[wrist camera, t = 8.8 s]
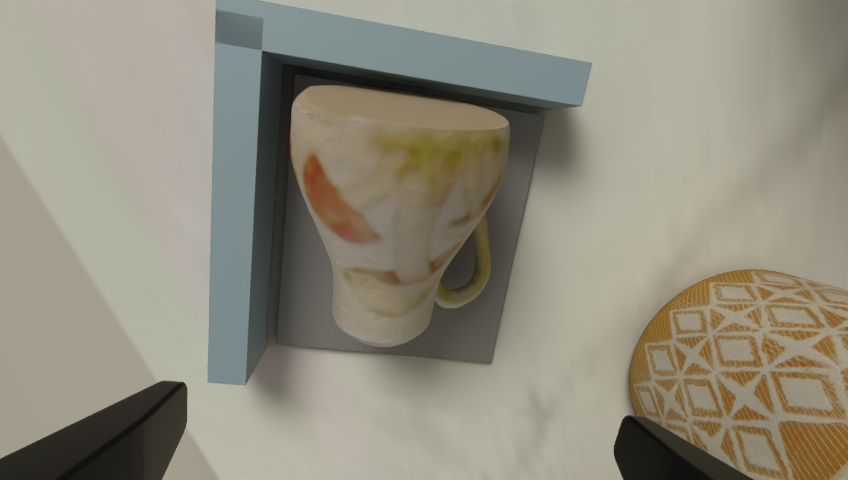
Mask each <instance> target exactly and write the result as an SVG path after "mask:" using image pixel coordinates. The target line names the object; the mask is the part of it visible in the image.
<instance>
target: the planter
mask: <svg viewBox="0 0 848 480" xmlns="http://www.w3.org/2000/svg"><path fill="white" fill-rule="evenodd" d="M629 384H630V395H631V400H632V404H633V407H634V410H635V413H636V415H637V416H643V417H646V418H648V419H650V420H652V421H653V422H655V423H657V424H659V425H660V426H662V427H664V428H666V429H667V430H669V431H671V432H672V433H674V434H676V435H678V436H679V437H681V438H683V439H685V440H686V441H688V442H690V443H691V444H693V445H695V446H697V447H698V448H700V449H702V450H704V451H705V452H707V453H709V454H711V455H712V456H714V457H716V458H717V459H719V460H721V461H723V462H724V463H726V464H728V465H730V466H731V467H733V468H735V469H736V470H738V471H740V472H742V473H743V474H745V475H747V476H749V477H750V478H752V479H754V480H848V291H847V290H843V289H840V288H836V287H832V286H829V285H825V284H821V283H817V282H814V281H810V280H806V279H803V278H799V277H795V276H792V275H788V274H784V273H780V272H775V271H768V270H755V269H753V270H739V271H733V272H728V273H723V274H719V275H716V276H713V277H710V278H708V279H705V280H703V281H701V282H699V283H697V284H695V285H693V286H691V287H689V288H688V289H686V290H684V291H683V292H681V293H680V294H678V295H677V296H676V297H674V298H673V299H672V300H671V301H669V302H668V303H667V304H666V305H665V306H664V307H663V308H662V309H661V310H660V311H659V312H658V313H657V314H656V316H655V317H654V318H653V319H652V320H651V322H650V323H649V325H648V326H647V328H646V329H645V331H644V332H643V334H642V336H641V338H640V340H639V342H638V344H637V347H636V349H635V352H634V355H633V359H632V363H631V368H630V378H629Z"/></svg>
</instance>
